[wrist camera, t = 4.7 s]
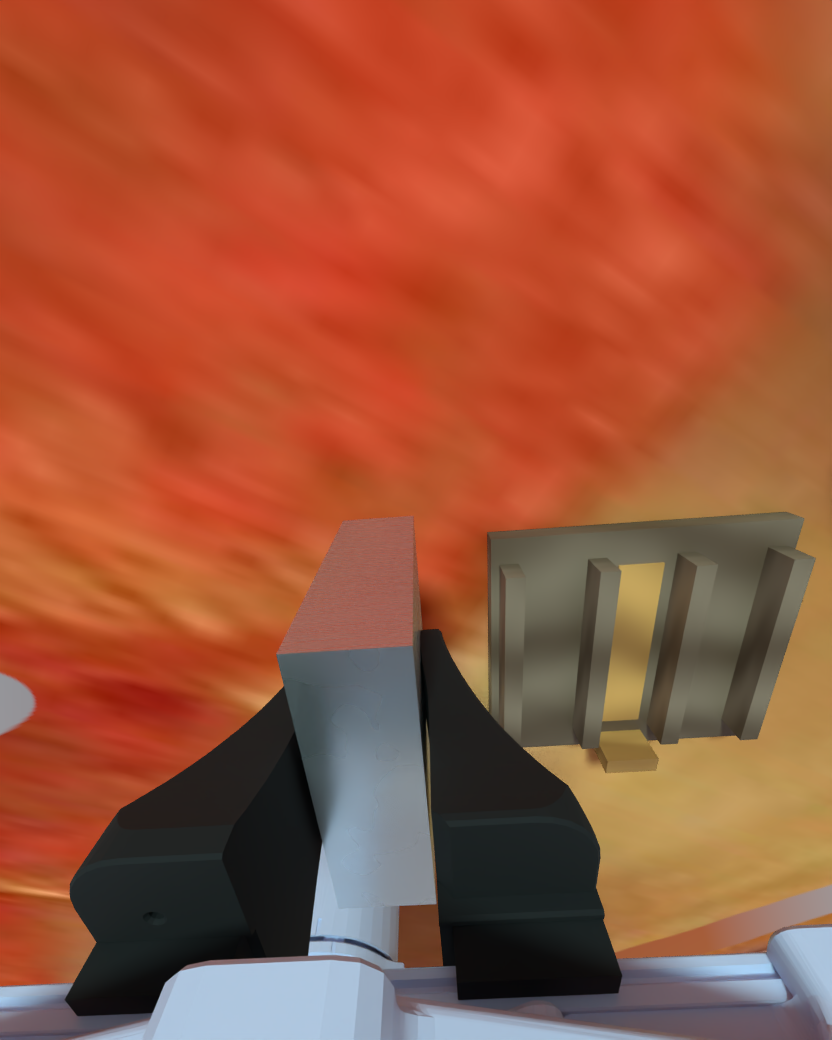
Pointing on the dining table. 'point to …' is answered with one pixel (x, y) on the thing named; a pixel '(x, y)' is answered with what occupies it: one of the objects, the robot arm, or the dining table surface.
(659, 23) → the dining table surface
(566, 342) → the dining table surface
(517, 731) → the slot rack
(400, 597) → the panel
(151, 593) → the dining table surface
